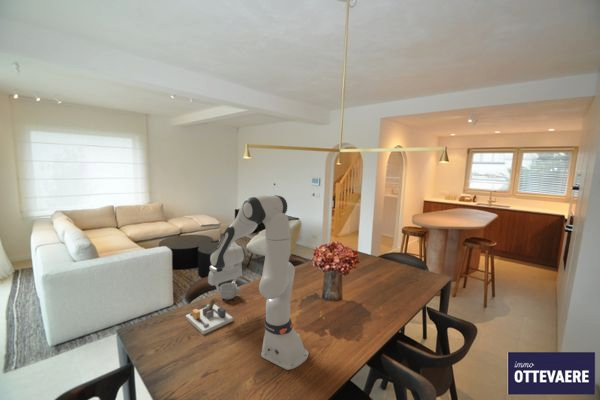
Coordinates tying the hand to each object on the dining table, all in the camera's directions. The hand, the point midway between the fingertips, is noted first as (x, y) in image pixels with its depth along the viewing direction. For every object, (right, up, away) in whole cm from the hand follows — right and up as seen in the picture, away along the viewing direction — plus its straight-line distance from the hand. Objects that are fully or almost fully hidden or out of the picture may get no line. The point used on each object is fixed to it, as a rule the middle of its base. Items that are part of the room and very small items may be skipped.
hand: (225, 287), depth 152 cm
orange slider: (-13, -13, -9) cm, 21 cm away
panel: (-7, -15, -7) cm, 18 cm away
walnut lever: (-8, -12, -7) cm, 16 cm away
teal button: (-10, -12, 0) cm, 15 cm away
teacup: (-2, -12, +17) cm, 21 cm away
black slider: (0, -13, -7) cm, 15 cm away
